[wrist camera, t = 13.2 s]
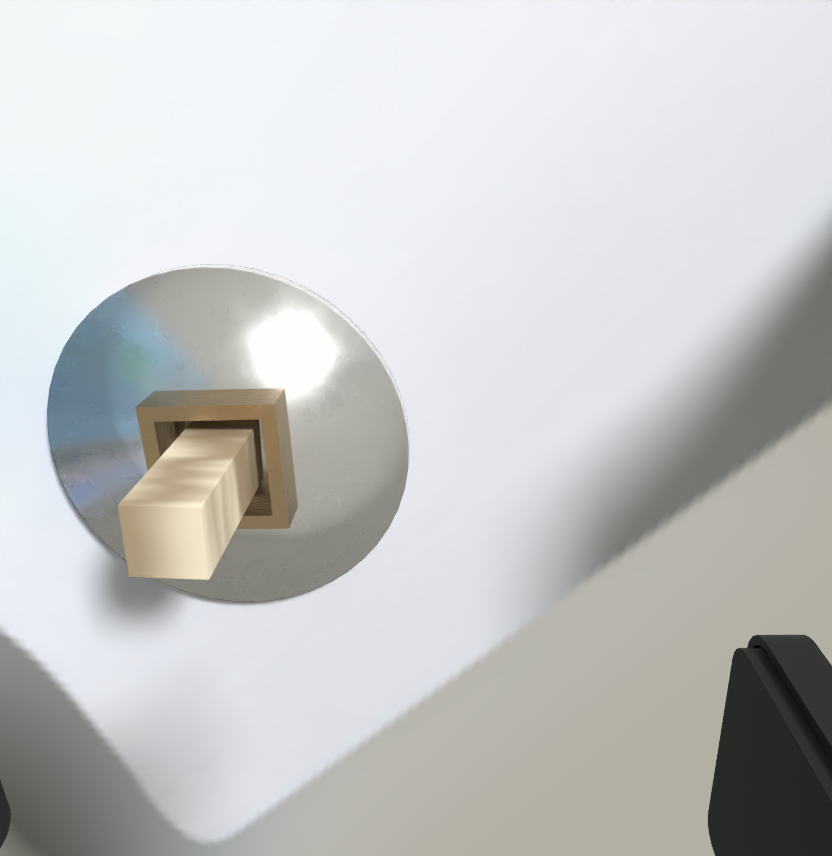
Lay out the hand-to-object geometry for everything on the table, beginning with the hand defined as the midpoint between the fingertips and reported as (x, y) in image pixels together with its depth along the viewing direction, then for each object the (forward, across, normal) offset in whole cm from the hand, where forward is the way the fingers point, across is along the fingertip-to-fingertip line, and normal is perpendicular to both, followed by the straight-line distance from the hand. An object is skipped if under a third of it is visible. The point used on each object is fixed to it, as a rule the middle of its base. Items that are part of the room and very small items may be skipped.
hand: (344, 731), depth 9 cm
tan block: (+29, +11, +9) cm, 33 cm away
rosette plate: (+30, +11, +9) cm, 33 cm away
